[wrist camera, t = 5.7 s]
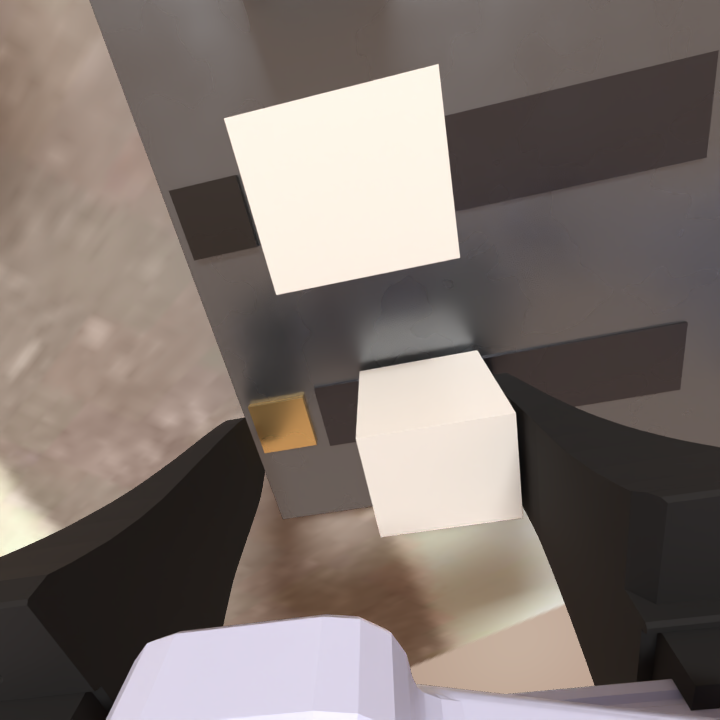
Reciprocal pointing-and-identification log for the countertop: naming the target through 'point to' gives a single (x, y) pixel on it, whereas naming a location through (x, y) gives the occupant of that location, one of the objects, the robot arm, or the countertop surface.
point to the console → (471, 202)
